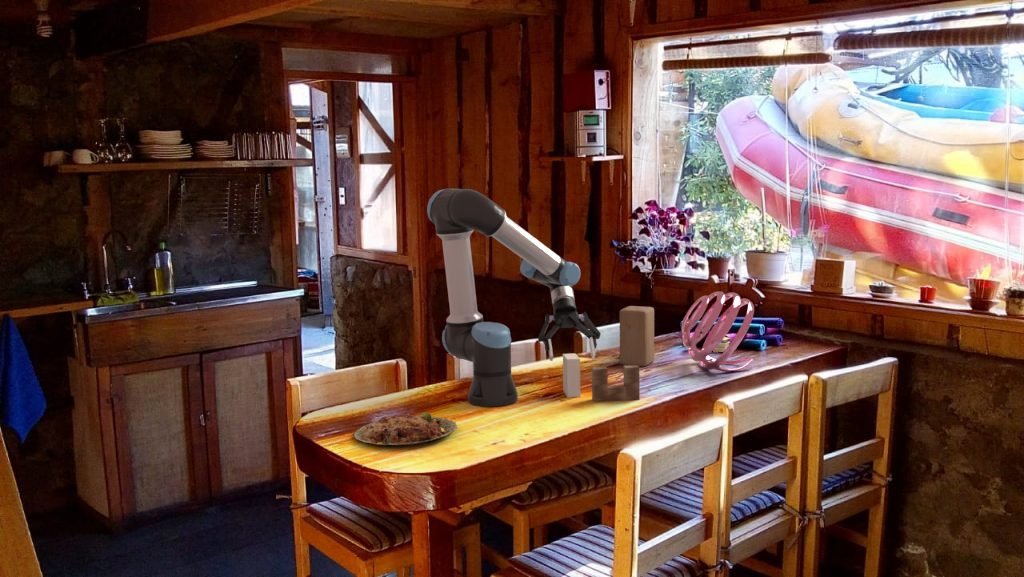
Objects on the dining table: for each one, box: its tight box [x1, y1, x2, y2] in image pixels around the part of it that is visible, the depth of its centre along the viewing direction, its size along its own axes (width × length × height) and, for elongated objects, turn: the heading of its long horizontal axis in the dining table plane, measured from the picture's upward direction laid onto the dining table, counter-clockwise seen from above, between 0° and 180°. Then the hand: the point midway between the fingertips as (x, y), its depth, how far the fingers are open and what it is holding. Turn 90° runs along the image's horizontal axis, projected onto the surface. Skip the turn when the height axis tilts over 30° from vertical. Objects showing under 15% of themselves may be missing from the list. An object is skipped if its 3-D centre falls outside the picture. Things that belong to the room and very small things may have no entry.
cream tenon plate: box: [562, 353, 581, 398], centre depth 274 cm, size 4×8×12 cm, turn 6°
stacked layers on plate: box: [712, 336, 731, 353], centre depth 330 cm, size 10×9×6 cm
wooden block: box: [619, 305, 655, 367], centre depth 313 cm, size 10×10×20 cm
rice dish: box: [352, 411, 458, 446], centre depth 238 cm, size 28×28×5 cm
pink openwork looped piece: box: [681, 291, 755, 373], centre depth 302 cm, size 28×28×27 cm
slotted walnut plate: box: [591, 365, 641, 403], centre depth 267 cm, size 14×3×10 cm, turn 96°
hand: (572, 357), depth 279 cm, fingers open, 13 cm apart
